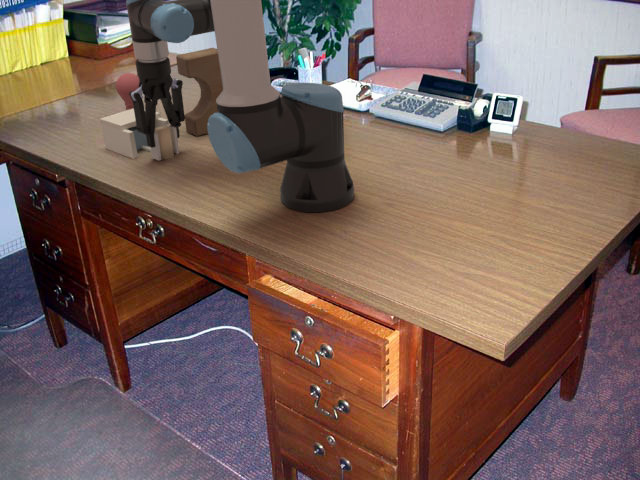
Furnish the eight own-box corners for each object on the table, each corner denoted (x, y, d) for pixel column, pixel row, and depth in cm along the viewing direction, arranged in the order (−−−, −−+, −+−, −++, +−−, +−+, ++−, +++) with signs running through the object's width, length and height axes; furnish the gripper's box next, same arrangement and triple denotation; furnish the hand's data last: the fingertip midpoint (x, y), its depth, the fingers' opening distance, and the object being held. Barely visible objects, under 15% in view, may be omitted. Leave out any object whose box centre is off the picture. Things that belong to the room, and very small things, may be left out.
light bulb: (141, 120, 195) (134, 77, 189) (117, 119, 196) (109, 77, 190) (151, 112, 201) (144, 70, 195) (127, 111, 202) (120, 70, 197)
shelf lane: (105, 148, 177) (99, 118, 173) (143, 135, 184) (138, 106, 180) (133, 158, 169) (128, 128, 166) (172, 144, 177) (167, 115, 173)
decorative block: (196, 137, 181) (185, 58, 171) (185, 131, 185) (174, 54, 175) (233, 127, 187) (225, 50, 177) (222, 121, 191) (213, 47, 181)
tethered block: (118, 146, 177) (113, 119, 174) (138, 139, 181) (133, 113, 178) (160, 162, 167) (156, 133, 163) (181, 154, 170) (176, 126, 167)
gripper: (173, 47, 166) (185, 141, 178) (108, 64, 155) (125, 162, 166) (193, 52, 162) (204, 148, 173) (128, 69, 150) (144, 170, 162)
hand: (165, 155), depth 170 cm, fingers open, 5 cm apart
